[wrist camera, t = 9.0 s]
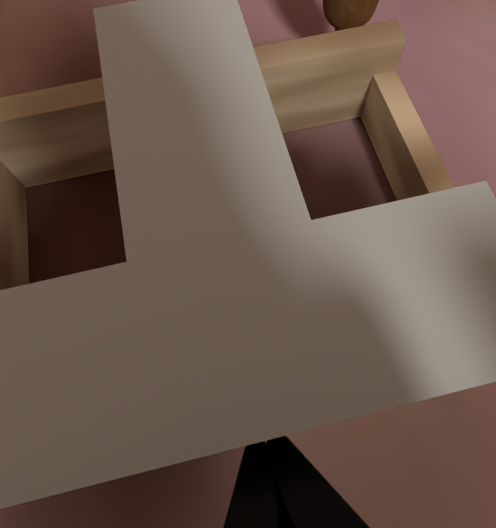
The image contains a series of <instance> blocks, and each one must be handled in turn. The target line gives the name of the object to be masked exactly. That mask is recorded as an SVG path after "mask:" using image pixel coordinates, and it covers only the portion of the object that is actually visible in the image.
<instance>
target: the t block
mask: <svg viewBox="0 0 496 528" xmlns="http://www.w3.org/2000/svg"><path fill="white" fill-rule="evenodd" d="M93 11H94V19H95V26H96V34H97V42H98V49H99V57H100V64H101V72H102V79H103V87H104V94H105V102H106V110H107V117H108V125H109V132H110V140H111V147H112V155H113V162H114V170H115V177H116V185H117V193H118V200H119V208H120V215H121V223H122V230H123V238H124V245H125V253H126V261H127V262H123V263H119V264H115V265H110V266H106V267H101V268H97V269H92V270H88V271H84V272H79V273H75V274H70V275H66V276H61V277H57V278H53V279H48V280H44V281H39V282H35V283H30V284H26V285H22V286H17V287H13V288H8V289H4V290H0V509H2V508H6V507H10V506H14V505H17V504H21V503H25V502H29V501H33V500H37V499H41V498H45V497H48V496H52V495H56V494H60V493H64V492H68V491H72V490H76V489H80V488H83V487H87V486H91V485H95V484H99V483H103V482H107V481H111V480H115V479H118V478H122V477H126V476H130V475H134V474H138V473H142V472H146V471H150V470H153V469H157V468H161V467H165V466H169V465H173V464H177V463H181V462H185V461H188V460H192V459H196V458H200V457H204V456H208V455H212V454H216V453H220V452H223V451H227V450H231V449H235V448H239V447H243V446H247V445H251V444H255V443H258V442H262V441H266V440H270V439H274V438H278V437H282V436H286V435H290V434H293V433H297V432H301V431H305V430H309V429H313V428H317V427H321V426H324V425H328V424H332V423H336V422H340V421H344V420H348V419H352V418H356V417H359V416H363V415H367V414H371V413H375V412H379V411H383V410H387V409H391V408H394V407H398V406H402V405H406V404H410V403H414V402H418V401H422V400H426V399H429V398H433V397H437V396H441V395H445V394H449V393H453V392H457V391H461V390H464V389H468V388H472V387H476V386H480V385H484V384H488V383H492V382H496V198H495V196H494V195H493V193H492V191H491V189H490V187H489V185H488V184H487V182H486V181H482V182H478V183H473V184H469V185H465V186H460V187H456V188H451V189H447V190H442V191H438V192H434V193H429V194H425V195H420V196H416V197H411V198H407V199H403V200H398V201H394V202H389V203H385V204H380V205H376V206H372V207H367V208H363V209H358V210H354V211H349V212H345V213H341V214H336V215H332V216H327V217H323V218H318V219H314V220H311V218H310V215H309V212H308V209H307V206H306V203H305V200H304V197H303V194H302V191H301V188H300V185H299V183H298V180H297V177H296V174H295V171H294V168H293V165H292V162H291V159H290V156H289V153H288V150H287V147H286V144H285V141H284V138H283V135H282V132H281V129H280V126H279V123H278V120H277V117H276V114H275V111H274V108H273V105H272V102H271V99H270V96H269V93H268V90H267V87H266V84H265V82H264V79H263V76H262V73H261V70H260V67H259V64H258V61H257V58H256V55H255V52H254V49H253V46H252V43H251V40H250V37H249V34H248V31H247V28H246V25H245V22H244V19H243V16H242V13H241V10H240V7H239V4H238V1H237V0H137V1H132V2H126V3H121V4H116V5H110V6H105V7H100V8H94V9H93Z"/></svg>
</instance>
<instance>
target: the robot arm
mask: <svg viewBox="0 0 496 528" xmlns="http://www.w3.org/2000/svg"><path fill="white" fill-rule="evenodd" d="M267 448H268V449H267ZM269 457H270V458H269ZM283 517H284V518H283ZM285 526H286V527H285ZM223 528H370V527H369V526H368V525H367V524H366V523H365V522H364V521H363V520H362V519H361V517H360V516H359V515H358V514H357V513H356V512H355V511H354V510H353V509H352V508H351V507H350V505H349V504H348V503H347V502H346V501H345V500H344V499H343V498H342V497H341V496H340V494H339V493H338V492H337V491H336V490H335V489H334V488H333V487H332V486H331V485H330V483H329V482H328V481H327V480H326V479H325V478H324V477H323V476H322V475H321V474H320V473H319V471H318V470H317V469H316V468H315V467H314V466H313V465H312V464H311V463H310V462H309V460H308V459H307V458H306V457H305V456H304V455H303V454H302V453H301V452H300V451H299V449H298V448H297V447H296V446H295V445H294V444H293V443H292V442H291V441H290V440H289V439H288V438H287V437H286V436H282V437H278V438H274V439H270V440H267V445H266V443H265V442H264V441H262V442H258V443H255V444H251V445H247V446H246V447H245V449H244V453H243V457H242V460H241V464H240V468H239V471H238V475H237V479H236V483H235V486H234V490H233V494H232V497H231V501H230V505H229V509H228V512H227V516H226V520H225V524H224V527H223Z"/></svg>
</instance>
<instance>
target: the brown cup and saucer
mask: <svg viewBox="0 0 496 528" xmlns="http://www.w3.org/2000/svg"><path fill="white" fill-rule="evenodd" d="M378 1H379V0H323V10H324V14H325V17H326V19H327V21H328V22H329V23H330V24H331V25H332V26H333V27H335V31H339V30H344V29H349V28H354V27H359V26H364V25H365V24H366V23H367V22H368V21H369V20H370V18H371V17H372V15H373V13H374V11H375V9H376V7H377V4H378Z"/></svg>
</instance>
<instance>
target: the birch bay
mask: <svg viewBox="0 0 496 528" xmlns="http://www.w3.org/2000/svg"><path fill="white" fill-rule="evenodd" d="M406 41H407V39H406V37H405V36H404V34H403V32H402V30H401V28H400V26H399V25H398V23H397V21H396V19H395V20H390V21H385V22H380V23H375V24H370V25H364V26H359V27H354V28H349V29H344V30H339V31H334V32H329V33H324V34H319V35H314V36H309V37H304V38H299V39H294V40H289V41H284V42H279V43H274V44H268V45H263V46H258V47H253V49H254V52H255V55H256V58H257V61H258V64H259V67H260V70H261V73H262V76H263V79H264V82H265V84H266V87H267V90H268V93H269V96H270V99H271V102H272V105H273V108H274V111H275V114H276V117H277V120H278V123H279V126H280V129H281V132H282V134H283V133H288V132H292V131H297V130H302V129H306V128H311V127H316V126H321V125H325V124H330V123H335V122H340V121H344V120H349V119H354V118H358V117H361V120H362V122H363V124H364V127H365V129H366V131H367V133H368V136H369V138H370V140H371V143H372V145H373V147H374V149H375V152H376V154H377V156H378V159H379V161H380V163H381V165H382V168H383V170H384V172H385V175H386V177H387V179H388V181H389V184H390V186H391V188H392V191H393V193H394V195H395V197H396V200H397V201H398V200H403V199H407V198H411V197H416V196H420V195H425V194H429V193H434V192H438V191H442V190H447V189H451V188H455V187H454V185H453V183H452V181H451V179H450V177H449V175H448V173H447V171H446V169H445V167H444V165H443V163H442V161H441V159H440V157H439V155H438V153H437V151H436V149H435V147H434V145H433V143H432V142H431V140H430V138H429V136H428V134H427V132H426V130H425V128H424V126H423V124H422V122H421V120H420V118H419V116H418V114H417V112H416V110H415V108H414V106H413V104H412V102H411V100H410V98H409V96H408V94H407V92H406V90H405V88H404V86H403V85H402V83H401V81H400V79H399V77H398V75H397V73H396V68H397V65H398V63H399V60H400V57H401V54H402V52H403V49H404V46H405V43H406ZM113 169H114V162H113V155H112V147H111V140H110V132H109V125H108V117H107V110H106V102H105V94H104V87H103V79H102V78H97V79H92V80H87V81H81V82H76V83H71V84H66V85H61V86H56V87H51V88H46V89H41V90H36V91H31V92H26V93H21V94H16V95H11V96H6V97H1V98H0V290H4V289H8V288H13V287H17V286H22V285H26V284H29V256H28V224H27V192H26V188H28V187H32V186H37V185H42V184H47V183H51V182H56V181H61V180H66V179H70V178H75V177H80V176H84V175H89V174H94V173H99V172H103V171H108V170H113Z"/></svg>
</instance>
